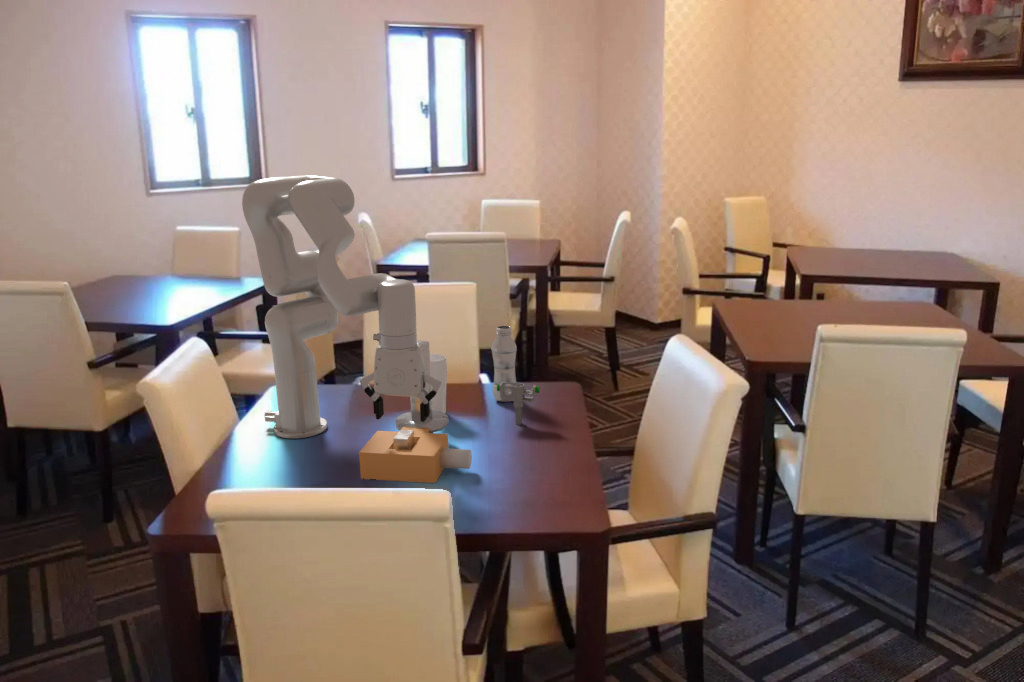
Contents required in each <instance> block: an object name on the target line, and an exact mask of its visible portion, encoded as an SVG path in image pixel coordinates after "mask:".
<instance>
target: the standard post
mask: <svg viewBox="0 0 1024 682" xmlns="http://www.w3.org/2000/svg"><path fill="white" fill-rule="evenodd" d="M417 345H420V348H421V352H422V356H423V361H424V368H425V373H426V374H428V375H429V376H431V372H430V354H431V353H430V341H428V340H417ZM425 389H426V391H427V392H428V393H429V392H430V391H431V385H430V384H428V383H426V386H425ZM409 397H410V398H409V399H410V411H408V412H405V413H402V414H399V416H397V418H395V427H396V429H397V430H398V431H400V430H401V429H402V428H403V427H406V428H409V427H411V428H412V427H413V428H414V427H415V429H419V427H420V429H421V427H422V428H424V429H425V428H429V433H436V432H437V433H438V432H439V431H442V430H444V429H445V428H447V427H448V426H449V422H450V421H449V416H448V415H447V414H446V412H445V413H443V412H439V411H434V410H432V399H431V400H430V401H429V405H430V415H429V417H427V419H426V420H425V421H424V422H421V418H420V404H421V403H422V401H421V400H420V399H419V398H418V397H417V396H413V397H411V396H409ZM417 427H418V428H417Z"/></svg>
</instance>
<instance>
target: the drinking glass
mask: <svg viewBox="0 0 1024 682" xmlns="http://www.w3.org/2000/svg"><path fill="white" fill-rule="evenodd" d="M430 372H431V377H433V378H435V379H437V380H439V381H440V382H441V383H442V384H441V386H440V388H439V390H438V392H437V394H436V395H435V396H434V397H433V398H432V410H434V411H439V412H443V413H445V414H446V411H447V409H446V405H447V403H446V402H447V381H448V363H447V356H446V355H444V354H441V353H440V354H439V353H430ZM432 388H433V387H432V385H431V390H432Z"/></svg>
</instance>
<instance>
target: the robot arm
mask: <svg viewBox="0 0 1024 682" xmlns="http://www.w3.org/2000/svg"><path fill="white" fill-rule="evenodd" d="M241 201H242V202H241V204H242V205H241V206H242V211H243V212H242V213H243V216H244V220H245V222H246V224H247V226H248V228H249V230H250V233H251V236H252V238H253V241H254V245H255V249H256V255H257V259H258V263H259V269H260V273H261V278H262V282H263V286H264V288H265V290H266V292H267V293H268V294H269V295H270V296H272V297H275V298H276V297H279V298H280V297H288V296H293V295H298V294H303V293H305V297H304V298H299V299H293V300H288V301H284V302H281V303H278V304H276V305H274V306H272V307H271V308H269V310H268V311H267V312H266V314H265V316H264V326H265V330H266V334H267V336H268V337H267V338H268V340H269V344H270V348H271V353H272V354H271V355H272V360H273V361H272V362H273V371H274V379H275V381H274V382H275V388H276V389H275V390H276V398H277V399H276V400H277V407H278V408H277V411H273V410H266V411H265V412H264V421H265V422H267V423H268V422H269V423H271V422H274V423H275V425H274V426H273V433H274V435H276V436H278V437H279V438H284V439H304V438H309V437H314V436H316V435H318V434H321V433H323V432H324V431H326V430H327V428H328V421H327V420H326V418H323V417H321V413H320V403H319V390H318V380H317V366H316V358H315V355H314V353H313V351H312V350H311V349H310V348H309V346H308V345H307V344H306V342H305V341H306V340H309V339H312V338H315V337H321V336H323V335H324V336H325V335H326V334H329V333H331V332H333V331H334V330H335V329H336V328H337V326H338V324H339V323H338V322H339V313H340V314H341V315H343V316H346V317H354V316H359V315H363V314H367V313H371V312H377V311H378V326H379V327H378V330H379V332H377V333H374V334H373V336H372V339H373V341H376V342H378V344H379V345H378V346H376V348H375V351H374V363H373V367H374V369H373V372H371V373H369V374H368V375H365V376H363V377H362V378H360V379H359V384H360V385H361V388H363V390H364V393H365V394H366V395H367V396H368V397H369V398H370V400H371V401H372V403H373V414H374V415H375V420H380V419H382V418H383V416H384V415H385V412H384V409H385V407H384V398H383V396H391V397H392V396H393V397H410V396H411V397H413V396H417V397H418V398H419V399H420V400H421V401H422V403H421V404H420V418H421V422H424V421H425V420H426V419H427V417H429V415H430V405H429V401H430V400H431V399H432V398H433V397H434V396H435V395H436V394H437V392H438V390H439V388H440V386H441V384H442V383H441V382H440V381H439V380H437V379H435V378H433V377H431V376H429V375H428V374H426V373H425V368H424V361H423V356H422V352H421V348H420V345H417V341H418V333H417V331H418V330H417V313H416V312H417V311H416V310H417V309H416V288H415V287H416V286H414V283H413V282H412V281H410V280H408V279H402V278H401V279H400V278H395V277H393V276H392V275H390V274H387V273H383V272H380V273H373V274H368V275H363V276H362V275H361V276H357V277H353V278H347V277H346V275H345V274H344V273H343V272H342V269H341V268H340V266H339V265H338V261H337V259H336V258H337V257H338V256H340V255H341V254H342V253H343V252H345V251H346V250H347V249H349V247H350V245H352V243H353V241H354V239H355V235H356V234H355V231H354V228H353V227H352V226H351V224H350V222H349V221H348V219H347V218H346V217H345V216H347V215H350V214H351V212H352V211H353V210H354V207H355V195H354V192H353V190H352V188H351V186H350V185H348V183H347V182H346V181H344V180H343V179H341V178H337V177H331V176H330V177H329V176H321V175H320V176H318V175H291V176H276V177H275V176H274V177H268V178H267V177H266V178H261V179H257V180H255V181H253V182H251V183H249V184H248V185H247V186H246V187H245V189H244V192H243V193H242V199H241ZM288 215H290V216H291V215H295V216H296V218H297V219H298V221H299V223H300V224H301V225H302V227H303V228H304V230H305V231H306V233H307V235H308V236H309V238H310V239H311V240H312V242H313V243H314V245H315V246H316V248H317V250H318V252H317V251H314V250H305V251H299V252H297V251H296V247H295V243H294V238H293V235H292V232H291V230H290V229H289V228H288V226H287V225H286V224H285V223H284V222H283V221H282V219H280V218H279V217H280V216H288ZM372 381H373V385H371V382H372ZM426 383H428V384H430V385H432V387H433V388H432V390H431V391H430V392H429V393H428V392H427V391H426V389H425V386H426Z"/></svg>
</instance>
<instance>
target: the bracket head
mask: <svg viewBox="0 0 1024 682" xmlns="http://www.w3.org/2000/svg"><path fill="white" fill-rule="evenodd" d="M417 428H418V427H417ZM401 430H414V440H415V446H414V447H413V449H412V450H402V449H394V441H393V439H394V437H395V436H396V435H397V434H398V432H399V431H395V430H394V431H390V430H377V431H376V432H375V433H374V434H373V436H371V438H370V439H369V440H368V441H367V442H366V443H365V444H364V446H363V447H362V448H361V450H360V451H359V452H358V456H359V470H360V471H359V474H360V479H361V480H370V479H376V480H375V481H388V482H389V481H392V482H407V483H408V482H409V483H411V482H412V483H428V484H436V483H437V481H438V479H439V478H440V476H441V475H442V473H443V471H444V469H445V468H448V469H463V470H465V469H467V470H469V469H471V467H472V456H473V455H472V450H471V449H468V448H466V449H462V448H449V445H450V444H449V433H438V432H437V433H436V432H433V433H429V428H425V429H424V428H422V427H421V429H420V427H419V429H415V427H414V428H413V427H412V428H411V427H409V428H406V427H403V428H402V429H401ZM363 478H364V479H363Z"/></svg>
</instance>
